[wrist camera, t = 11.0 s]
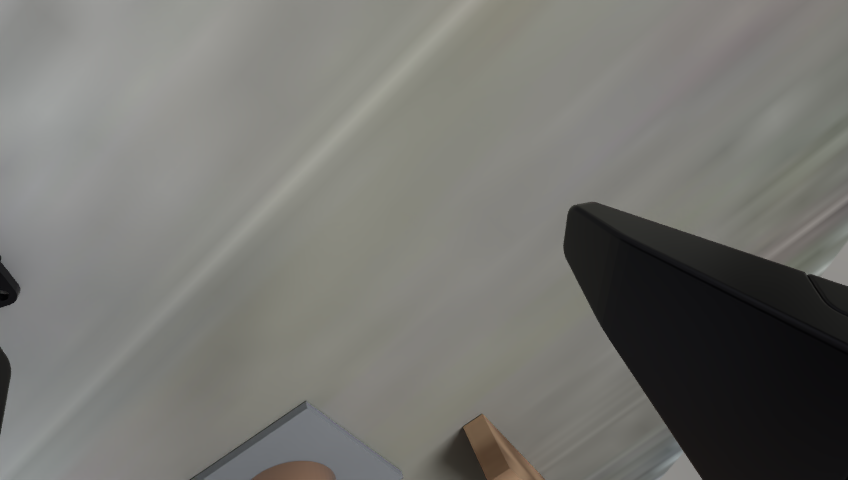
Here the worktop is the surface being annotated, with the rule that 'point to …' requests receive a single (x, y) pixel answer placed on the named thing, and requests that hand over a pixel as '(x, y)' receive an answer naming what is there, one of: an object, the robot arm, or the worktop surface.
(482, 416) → the cradle
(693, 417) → the robot arm
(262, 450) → the mat
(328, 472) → the tan rounded upright piece
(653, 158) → the worktop surface
